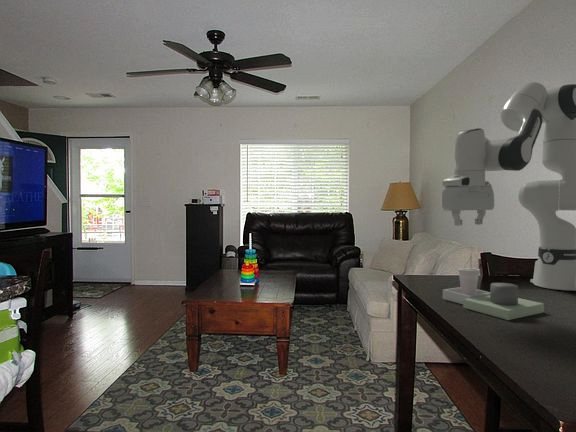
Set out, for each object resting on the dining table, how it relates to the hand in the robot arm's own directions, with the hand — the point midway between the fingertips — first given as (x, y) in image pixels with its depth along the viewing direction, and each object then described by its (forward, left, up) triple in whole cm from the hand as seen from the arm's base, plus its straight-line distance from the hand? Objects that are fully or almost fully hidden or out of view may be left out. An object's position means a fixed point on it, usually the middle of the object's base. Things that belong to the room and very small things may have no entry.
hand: (468, 224), depth 127 cm
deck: (0, +7, -24) cm, 25 cm away
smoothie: (0, 0, -24) cm, 24 cm away
